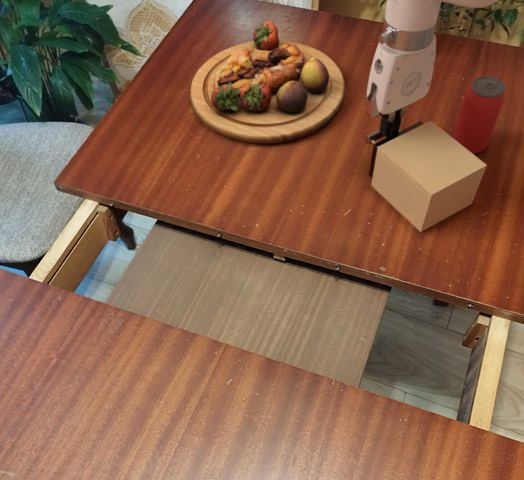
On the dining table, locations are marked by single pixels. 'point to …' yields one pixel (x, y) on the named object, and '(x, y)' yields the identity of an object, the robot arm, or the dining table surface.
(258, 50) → the wooden plate
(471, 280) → the dining table surface
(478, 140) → the beer can
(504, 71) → the dining table surface
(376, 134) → the dark brown piece
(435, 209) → the tan box
